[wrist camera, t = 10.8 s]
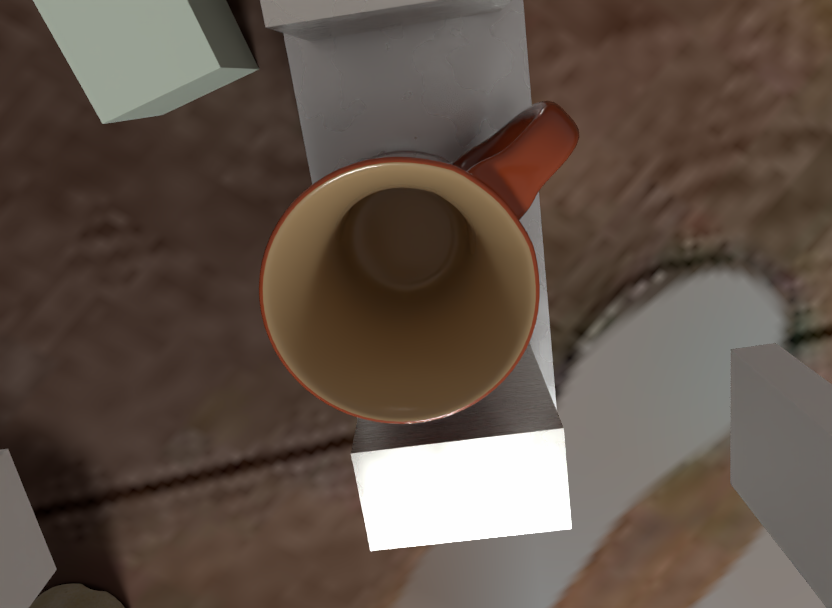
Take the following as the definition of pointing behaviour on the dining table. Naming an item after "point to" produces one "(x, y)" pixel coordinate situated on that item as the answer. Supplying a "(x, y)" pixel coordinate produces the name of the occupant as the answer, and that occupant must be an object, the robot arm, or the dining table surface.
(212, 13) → the block
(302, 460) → the dining table surface
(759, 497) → the robot arm
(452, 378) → the mug
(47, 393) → the dining table surface
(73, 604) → the flower pot
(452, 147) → the grey u-shaped block
